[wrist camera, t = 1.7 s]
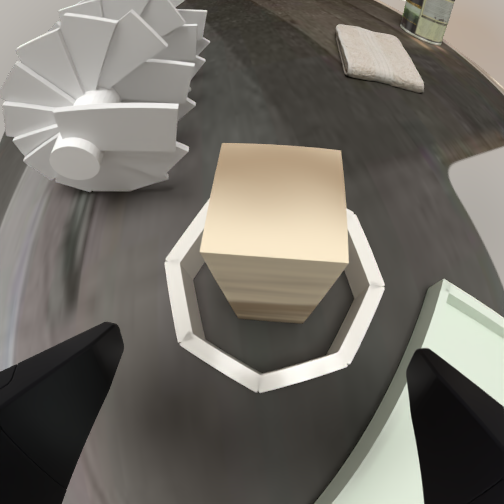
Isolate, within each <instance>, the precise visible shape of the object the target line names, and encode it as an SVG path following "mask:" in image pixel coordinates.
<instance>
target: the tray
mask: <svg viewBox="0 0 504 504" xmlns="http://www.w3.org/2000/svg"><path fill="white" fill-rule="evenodd" d="M419 348H429V349H431V350H432V351H433V352H435V353H436V354H437V355H438V356H440V357H441V358H442V359H444V360H445V361H446V362H448V363H449V364H450V365H452V366H453V367H454V368H455V369H457V370H458V371H459V372H461V373H462V374H463V375H465V376H466V377H467V378H468V379H470V380H471V381H472V382H473V383H475V384H476V385H477V386H479V387H480V388H481V389H482V390H484V391H485V392H486V393H487V394H489V395H490V396H491V397H492V398H494V399H495V400H496V401H497V402H499V403H500V404H501V405H502V406H504V318H503V317H502V316H500V315H499V314H497V313H496V312H494V311H493V310H491V309H490V308H489V307H487V306H486V305H484V304H483V303H481V302H480V301H478V300H477V299H475V298H473V297H472V296H470V295H469V294H467V293H466V292H464V291H463V290H461V289H459V288H458V287H456V286H455V285H453V284H451V283H450V282H448V281H447V280H445V279H442V280H441V281H439V282H438V283H436V284H434V285H433V286H431V287H429V288H428V290H427V293H426V296H425V299H424V303H423V306H422V309H421V311H420V314H419V317H418V320H417V323H416V325H415V328H414V331H413V333H412V336H411V338H410V341H409V343H408V346H407V348H406V351H405V353H404V355H403V358H402V360H401V362H400V365H399V367H398V369H397V371H396V373H395V375H394V378H393V380H392V382H391V384H390V386H389V388H388V390H387V392H386V394H385V396H384V398H383V400H382V402H381V404H380V405H379V407H378V409H377V411H376V413H375V415H374V416H373V418H372V420H371V422H370V423H369V425H368V427H367V429H366V430H365V432H364V434H363V435H362V437H361V439H360V440H359V442H358V443H357V445H356V446H355V448H354V450H353V451H352V453H351V454H350V456H349V457H348V459H347V460H346V462H345V463H344V465H343V466H342V467H341V469H340V470H339V472H338V473H337V474H336V476H335V477H334V479H333V480H332V481H331V483H330V484H329V485H328V487H327V488H326V489H325V490H324V492H323V493H322V494H321V496H320V497H319V498H318V499H317V500H316V502H315V503H314V504H424V498H423V488H422V479H421V472H420V465H419V458H418V452H417V446H416V440H415V435H414V429H413V424H412V419H411V412H410V403H409V394H408V386H407V379H406V370H407V367H408V365H409V363H410V360H411V358H412V356H413V354H414V352H415V351H416V350H417V349H419Z"/></svg>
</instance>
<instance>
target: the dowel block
mask: <svg viewBox="0 0 504 504" xmlns="http://www.w3.org/2000/svg"><path fill="white" fill-rule="evenodd" d="M200 254H201V255H202V257H203V259H204V261H205V262H206V264H207V266H208V268H209V269H210V271H211V273H212V275H213V276H214V278H215V280H216V281H217V283H218V285H219V287H220V288H221V290H222V292H223V293H224V295H225V297H226V298H227V300H228V302H229V303H230V305H231V307H232V308H233V310H234V312H235V313H236V315H237V317H238V318H239V319H250V320H261V321H273V322H287V323H302V324H303V323H304V322H305V320H306V319H307V318H308V317H309V315H310V314H311V313H312V312H313V310H314V309H315V308H316V306H317V305H318V304H319V303H320V301H321V300H322V299H323V297H324V296H325V295H326V293H327V292H328V291H329V289H330V288H331V287H332V285H333V284H334V283H335V281H336V280H337V279H338V277H339V276H340V275H341V273H342V272H343V270H344V269H345V268H346V266H347V265H348V263H349V254H348V229H347V212H346V198H345V186H344V175H343V165H342V156H341V151H340V150H331V149H322V148H311V147H299V146H286V145H268V144H241V143H222V146H221V151H220V155H219V159H218V164H217V168H216V173H215V177H214V182H213V187H212V191H211V196H210V201H209V206H208V211H207V216H206V221H205V226H204V231H203V236H202V242H201V247H200Z"/></svg>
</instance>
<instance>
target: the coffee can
mask: <svg viewBox="0 0 504 504" xmlns="http://www.w3.org/2000/svg"><path fill="white" fill-rule="evenodd" d="M454 1H455V0H406V4H405V8H404V13H403V17H402V21H401V24H400V27H401V28H402V29H403V30H404V31H405V32H407V33H409V34H410V35H412V36H414V37H416V38H418V39H420V40H422V41H425V42H427V43H430V44H434V45H441V42H442V39H443V36H444V33H445V30H446V27H447V24H448V21H449V18H450V14H451V11H452V8H453V4H454Z"/></svg>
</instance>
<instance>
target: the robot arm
mask: <svg viewBox="0 0 504 504" xmlns="http://www.w3.org/2000/svg"><path fill="white" fill-rule="evenodd" d="M123 350H124V343H123V340H122V336H121V333H120V329H119V326H118V325H117V324H115V323H111V322H104V323H102V324H100V325H97V326H95V327H93V328H91V329H89V330H87V331H85V332H83V333H81V334H79V335H77V336H74V337H72V338H70V339H68V340H66V341H64V342H62V343H60V344H58V345H56V346H54V347H51V348H49V349H47V350H45V351H43V352H41V353H39V354H37V355H35V356H33V357H30V358H28V359H26V360H24V361H22V362H20V363H18V365H17V364H16V365H14V366H12V367H10V368H7V369H5V370H3V371H1V372H0V504H62V501H63V499H64V496H65V493H66V489H67V487H68V484H69V482H70V479H71V477H72V474H73V472H74V469H75V466H76V464H77V461H78V459H79V457H80V454H81V452H82V449H83V447H84V445H85V442H86V440H87V438H88V435H89V433H90V431H91V428H92V426H93V424H94V422H95V420H96V417H97V415H98V413H99V411H100V409H101V406H102V404H103V402H104V400H105V398H106V396H107V394H108V391H109V389H110V386H111V384H112V381H113V378H114V375H115V372H116V370H117V367H118V364H119V361H120V359H121V356H122V353H123ZM406 379H407V386H408V394H409V403H410V412H411V419H412V424H413V429H414V435H415V440H416V446H417V452H418V458H419V465H420V472H421V479H422V488H423V498H424V504H504V406H502V405H501V404H500V403H499V402H497V401H496V400H495V399H494V398H492V397H491V396H490V395H489V394H487V393H486V392H485V391H484V390H482V389H481V388H480V387H479V386H477V385H476V384H475V383H473V382H472V381H471V380H470V379H468V378H467V377H466V376H465V375H463V374H462V373H461V372H459V371H458V370H457V369H455V368H454V367H453V366H452V365H450V364H449V363H448V362H446V361H445V360H444V359H442V358H441V357H440V356H438V355H437V354H436V353H435V352H433V351H432V350H431V349H429V348H419V349H417V350H416V351H415V352H414V354H413V356H412V358H411V360H410V363H409V365H408V367H407V370H406Z"/></svg>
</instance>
